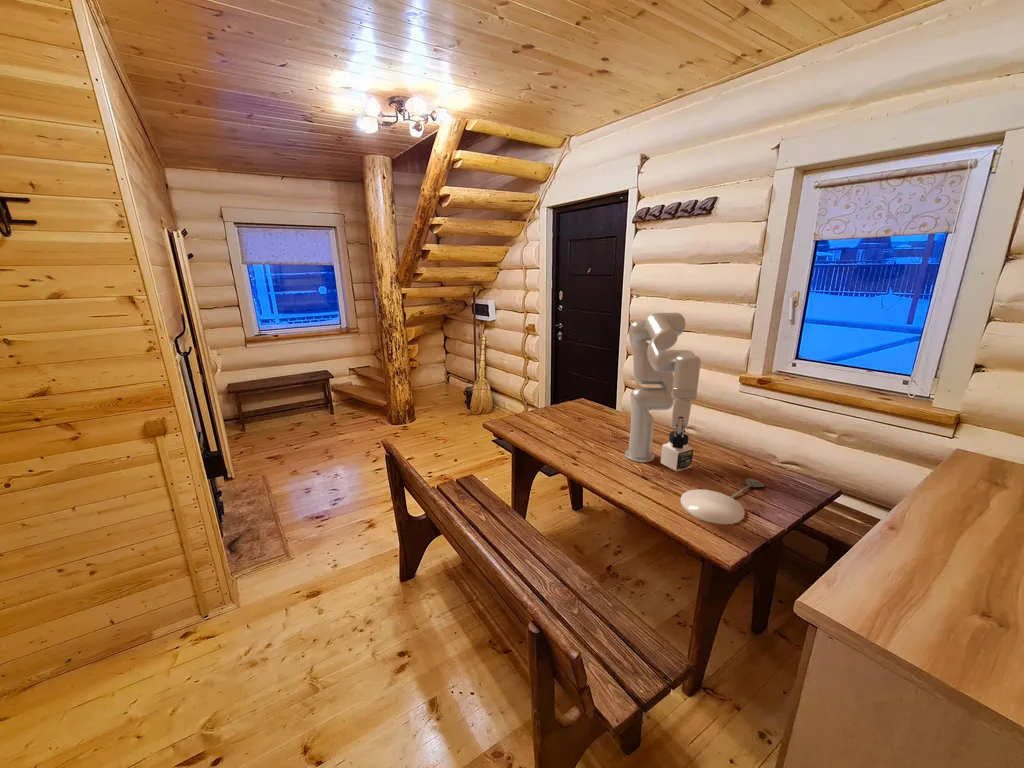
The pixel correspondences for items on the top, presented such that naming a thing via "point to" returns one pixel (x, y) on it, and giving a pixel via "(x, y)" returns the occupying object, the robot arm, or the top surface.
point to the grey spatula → (750, 485)
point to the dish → (712, 507)
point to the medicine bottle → (677, 454)
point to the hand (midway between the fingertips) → (678, 443)
